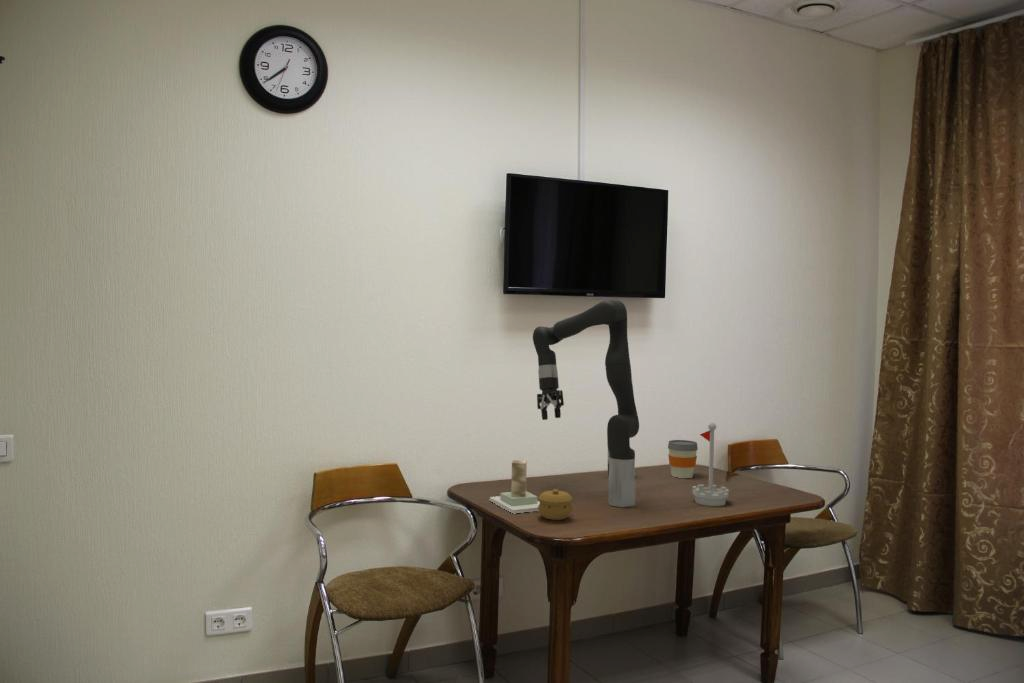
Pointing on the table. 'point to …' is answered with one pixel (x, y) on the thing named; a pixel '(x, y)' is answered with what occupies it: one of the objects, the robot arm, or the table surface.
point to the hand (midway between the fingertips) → (551, 418)
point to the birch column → (518, 478)
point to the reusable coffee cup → (682, 458)
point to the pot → (555, 504)
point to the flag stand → (710, 479)
